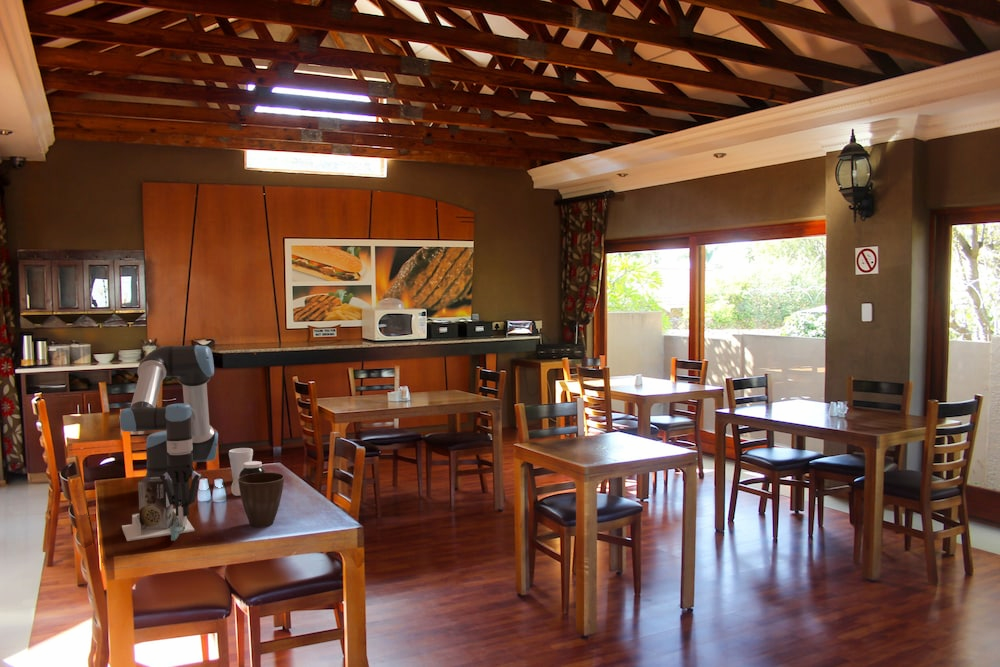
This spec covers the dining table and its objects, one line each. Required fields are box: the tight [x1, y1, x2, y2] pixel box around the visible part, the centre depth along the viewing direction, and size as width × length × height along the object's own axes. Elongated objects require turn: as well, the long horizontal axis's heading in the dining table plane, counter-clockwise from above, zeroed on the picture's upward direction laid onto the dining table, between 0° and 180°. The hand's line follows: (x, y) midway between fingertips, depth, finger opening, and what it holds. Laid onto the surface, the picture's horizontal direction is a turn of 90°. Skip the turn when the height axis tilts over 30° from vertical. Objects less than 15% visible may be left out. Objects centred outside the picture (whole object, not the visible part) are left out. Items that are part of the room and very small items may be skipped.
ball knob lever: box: [170, 517, 185, 541], centre depth 245 cm, size 15×2×5 cm, turn 12°
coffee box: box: [137, 477, 174, 530], centre depth 255 cm, size 9×6×16 cm
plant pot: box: [238, 472, 285, 528], centre depth 260 cm, size 15×15×16 cm
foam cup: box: [228, 447, 254, 482], centre depth 320 cm, size 10×9×13 cm
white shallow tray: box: [121, 508, 195, 542], centre depth 254 cm, size 17×20×4 cm
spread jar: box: [230, 460, 267, 497], centre depth 301 cm, size 12×11×12 cm
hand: (182, 525), depth 245 cm, fingers closed
